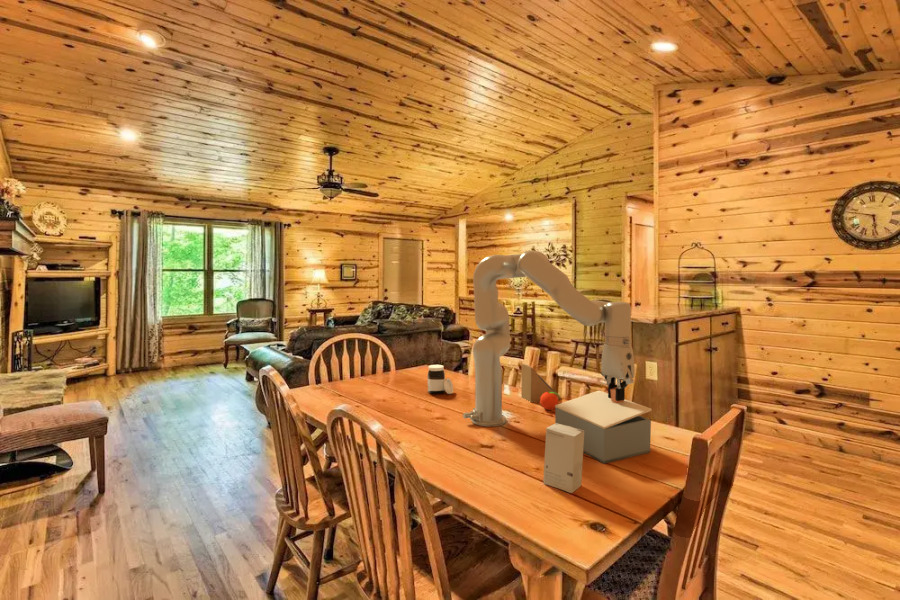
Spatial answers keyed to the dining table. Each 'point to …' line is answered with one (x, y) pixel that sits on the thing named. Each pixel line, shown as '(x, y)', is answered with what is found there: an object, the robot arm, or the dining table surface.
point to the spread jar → (438, 380)
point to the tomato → (549, 400)
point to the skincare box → (563, 457)
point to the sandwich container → (533, 384)
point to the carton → (611, 437)
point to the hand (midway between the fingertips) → (616, 398)
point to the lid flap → (603, 408)
